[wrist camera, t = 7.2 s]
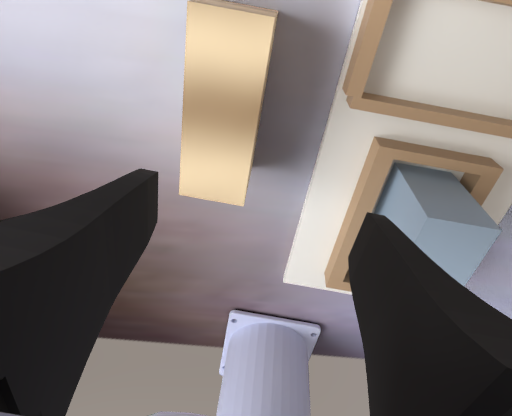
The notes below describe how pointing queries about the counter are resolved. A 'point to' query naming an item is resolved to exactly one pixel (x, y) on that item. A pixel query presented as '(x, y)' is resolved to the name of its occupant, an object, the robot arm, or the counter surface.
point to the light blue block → (439, 218)
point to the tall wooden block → (223, 96)
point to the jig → (408, 121)
